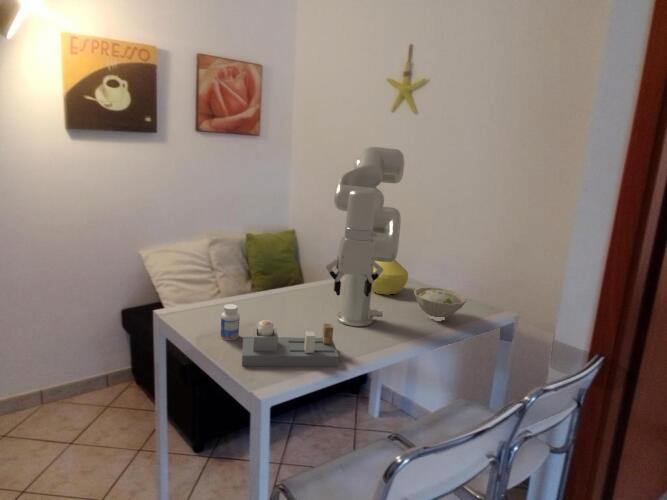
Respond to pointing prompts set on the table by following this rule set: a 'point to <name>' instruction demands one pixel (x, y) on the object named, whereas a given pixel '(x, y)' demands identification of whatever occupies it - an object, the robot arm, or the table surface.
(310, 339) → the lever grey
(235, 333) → the pill bottle
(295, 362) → the panel
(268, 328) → the button ivory
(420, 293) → the bowl
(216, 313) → the table surface
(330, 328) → the lever oak
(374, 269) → the vase
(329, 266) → the robot arm
